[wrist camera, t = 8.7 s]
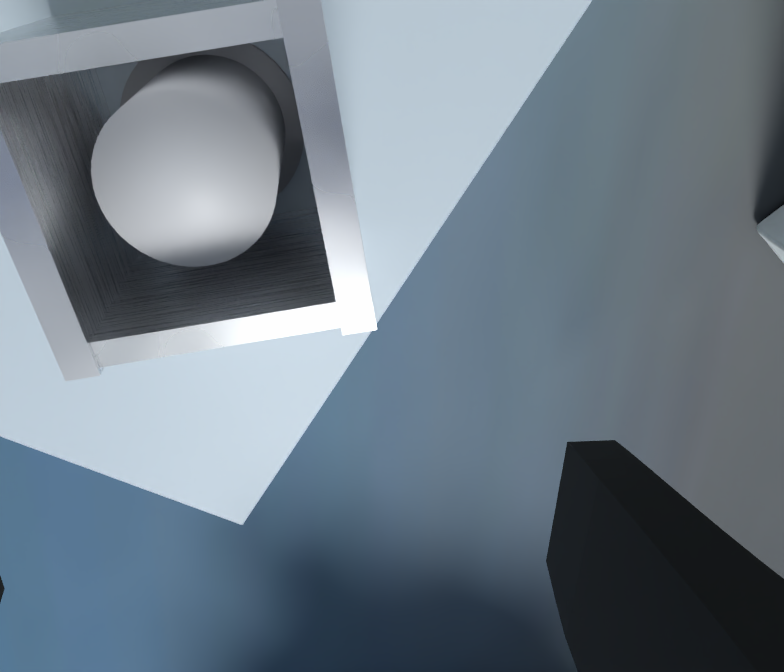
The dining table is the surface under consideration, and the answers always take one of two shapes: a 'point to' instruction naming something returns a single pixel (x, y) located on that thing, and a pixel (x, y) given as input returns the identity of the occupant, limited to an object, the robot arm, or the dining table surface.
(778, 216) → the supplement box
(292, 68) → the white boxy piece
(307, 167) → the duct plate
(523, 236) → the dining table surface
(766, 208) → the dining table surface
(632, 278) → the dining table surface
